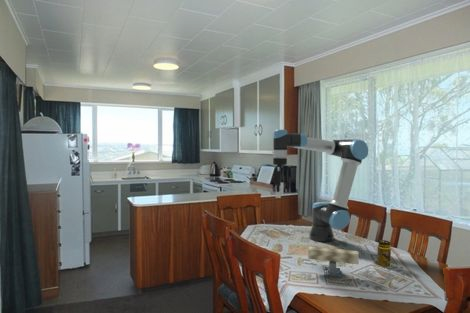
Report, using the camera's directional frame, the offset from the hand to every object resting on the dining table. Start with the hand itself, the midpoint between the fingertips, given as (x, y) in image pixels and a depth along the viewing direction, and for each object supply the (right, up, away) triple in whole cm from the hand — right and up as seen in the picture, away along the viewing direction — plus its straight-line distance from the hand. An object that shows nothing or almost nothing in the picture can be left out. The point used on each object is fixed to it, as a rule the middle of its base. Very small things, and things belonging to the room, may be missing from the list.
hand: (279, 195), depth 179 cm
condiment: (+49, -33, -17) cm, 61 cm away
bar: (+21, -26, -29) cm, 44 cm away
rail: (+21, -33, -29) cm, 48 cm away
